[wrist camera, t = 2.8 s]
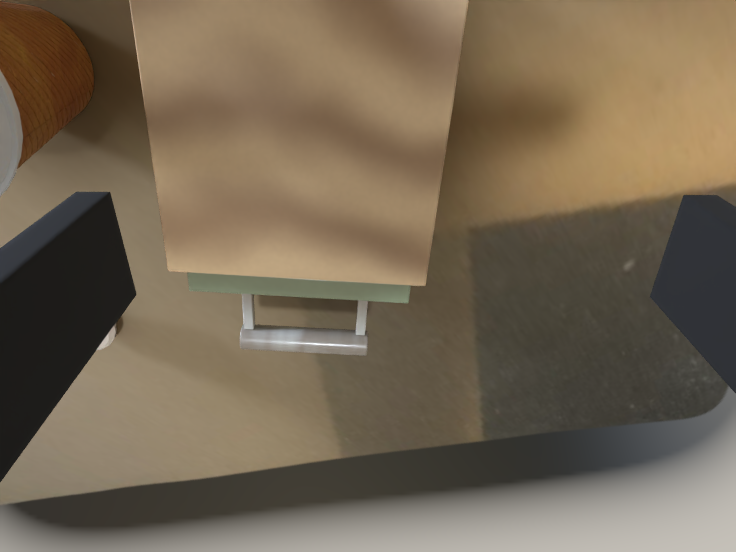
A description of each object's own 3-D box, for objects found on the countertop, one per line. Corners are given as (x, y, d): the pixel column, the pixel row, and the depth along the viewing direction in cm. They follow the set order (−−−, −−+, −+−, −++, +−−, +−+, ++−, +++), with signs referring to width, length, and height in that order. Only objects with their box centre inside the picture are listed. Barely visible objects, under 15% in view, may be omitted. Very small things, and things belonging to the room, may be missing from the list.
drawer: (390, 315, 38) (396, 391, 31) (230, 306, 37) (200, 381, 30) (426, 9, 27) (446, 22, 21) (206, -9, 27) (153, -2, 20)
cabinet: (410, 209, 34) (425, 286, 26) (216, 196, 34) (167, 271, 25) (442, -54, 27) (479, -65, 18) (194, -75, 26) (114, -97, 18)
